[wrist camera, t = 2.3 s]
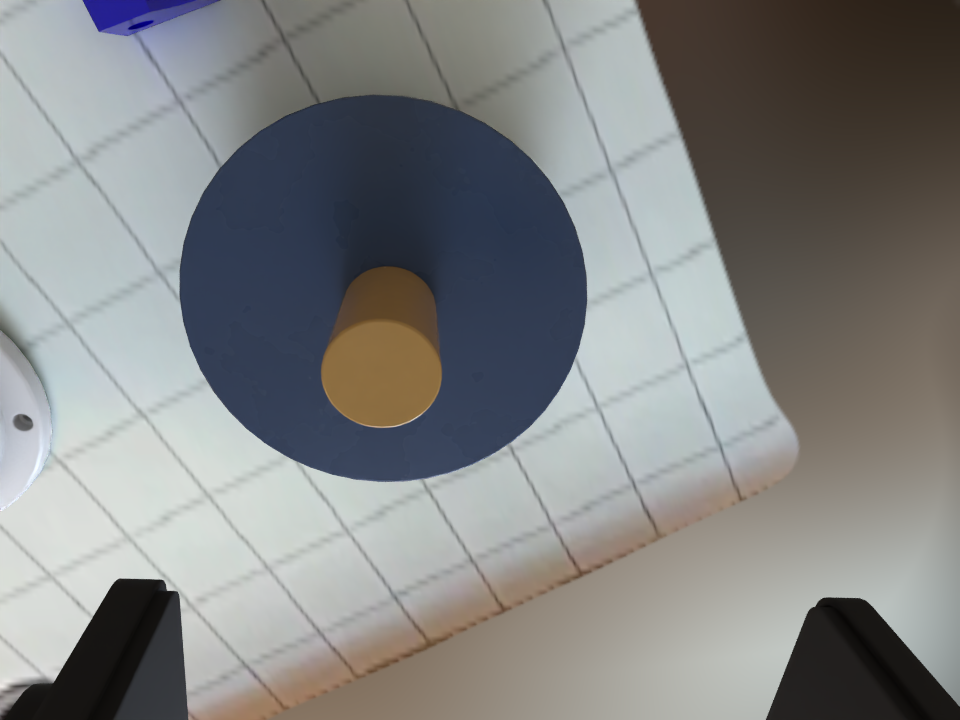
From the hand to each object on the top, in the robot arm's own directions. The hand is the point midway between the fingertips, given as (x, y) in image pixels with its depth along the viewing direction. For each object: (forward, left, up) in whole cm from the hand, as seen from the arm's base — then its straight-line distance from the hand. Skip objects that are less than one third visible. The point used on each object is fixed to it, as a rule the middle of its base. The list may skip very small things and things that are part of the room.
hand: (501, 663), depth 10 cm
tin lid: (-2, +1, -14) cm, 14 cm away
